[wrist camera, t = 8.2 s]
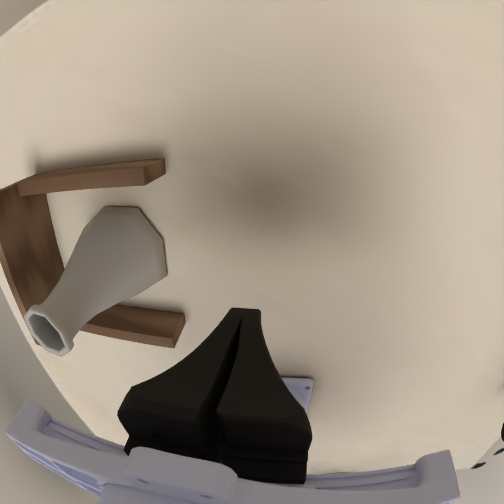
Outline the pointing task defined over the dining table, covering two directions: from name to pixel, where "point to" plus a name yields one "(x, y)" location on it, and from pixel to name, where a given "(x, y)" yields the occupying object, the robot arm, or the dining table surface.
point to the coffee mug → (502, 432)
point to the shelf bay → (48, 257)
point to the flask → (99, 276)
